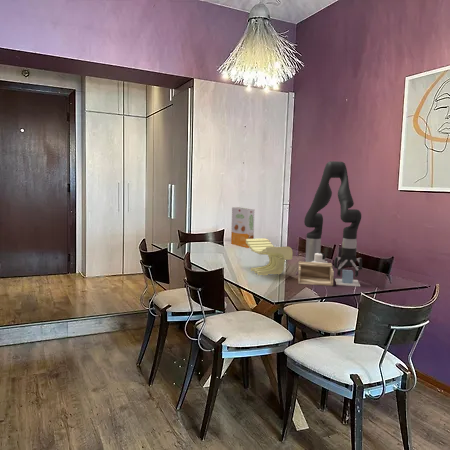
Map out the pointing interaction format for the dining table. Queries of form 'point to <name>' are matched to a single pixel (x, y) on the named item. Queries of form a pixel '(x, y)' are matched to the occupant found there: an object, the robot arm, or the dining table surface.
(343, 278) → the block
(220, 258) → the dining table surface
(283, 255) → the slatted curved stool
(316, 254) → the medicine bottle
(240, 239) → the cereal box
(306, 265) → the cubby
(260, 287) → the dining table surface
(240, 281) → the dining table surface
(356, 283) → the mat
